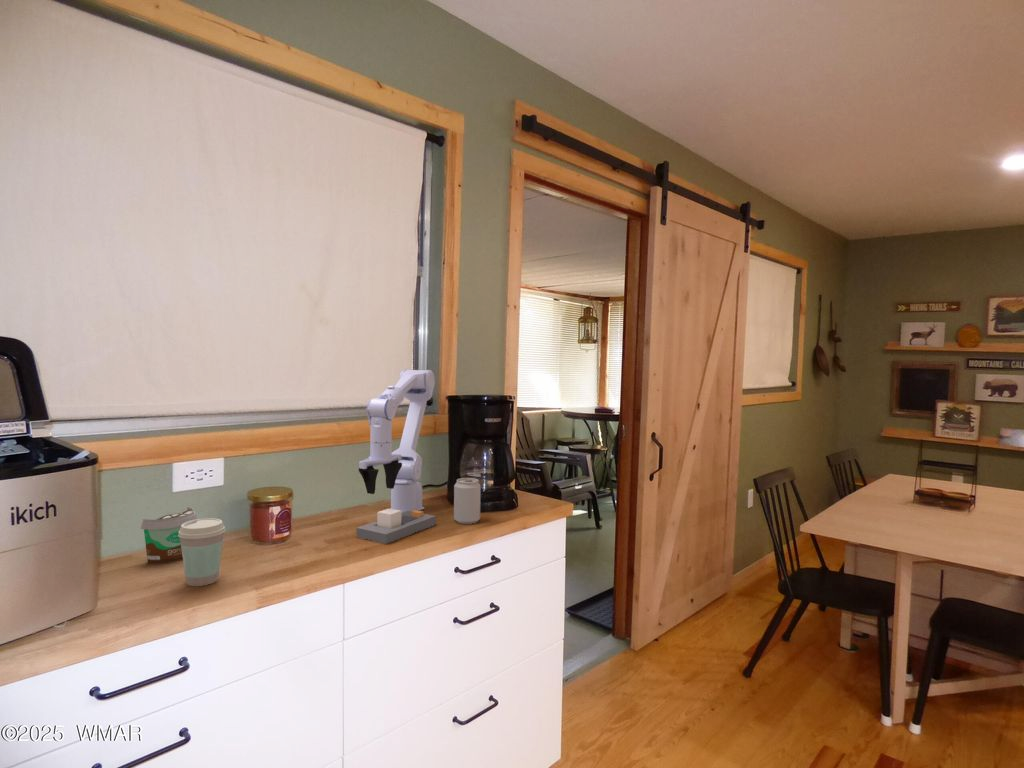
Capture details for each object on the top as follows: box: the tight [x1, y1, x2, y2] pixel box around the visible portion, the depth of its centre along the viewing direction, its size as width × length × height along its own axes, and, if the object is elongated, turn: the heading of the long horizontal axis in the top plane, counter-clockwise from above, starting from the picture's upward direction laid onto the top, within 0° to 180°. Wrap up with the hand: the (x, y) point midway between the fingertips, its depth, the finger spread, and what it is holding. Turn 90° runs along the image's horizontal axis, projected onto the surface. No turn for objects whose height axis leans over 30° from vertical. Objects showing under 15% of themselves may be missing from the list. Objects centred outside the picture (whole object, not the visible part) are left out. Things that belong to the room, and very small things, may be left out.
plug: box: [376, 508, 401, 529], centre depth 153 cm, size 4×4×6 cm
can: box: [453, 477, 482, 525], centre depth 166 cm, size 8×8×12 cm
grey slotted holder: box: [356, 510, 437, 545], centre depth 156 cm, size 20×10×4 cm, turn 150°
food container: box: [140, 506, 198, 564], centre depth 133 cm, size 12×6×10 cm, turn 160°
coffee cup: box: [178, 517, 226, 587], centre depth 119 cm, size 8×8×12 cm
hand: (380, 490), depth 161 cm, fingers open, 7 cm apart
